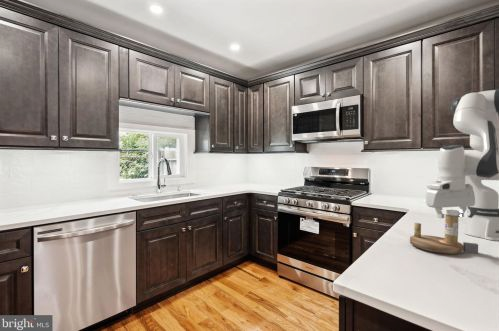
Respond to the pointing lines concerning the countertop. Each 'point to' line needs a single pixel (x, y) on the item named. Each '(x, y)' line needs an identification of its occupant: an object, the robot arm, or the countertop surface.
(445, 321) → the countertop surface
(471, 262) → the countertop surface
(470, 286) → the countertop surface
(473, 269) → the countertop surface
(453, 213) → the sprinkles bottle
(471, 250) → the grey polygonal block
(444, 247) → the wooden peg stand
